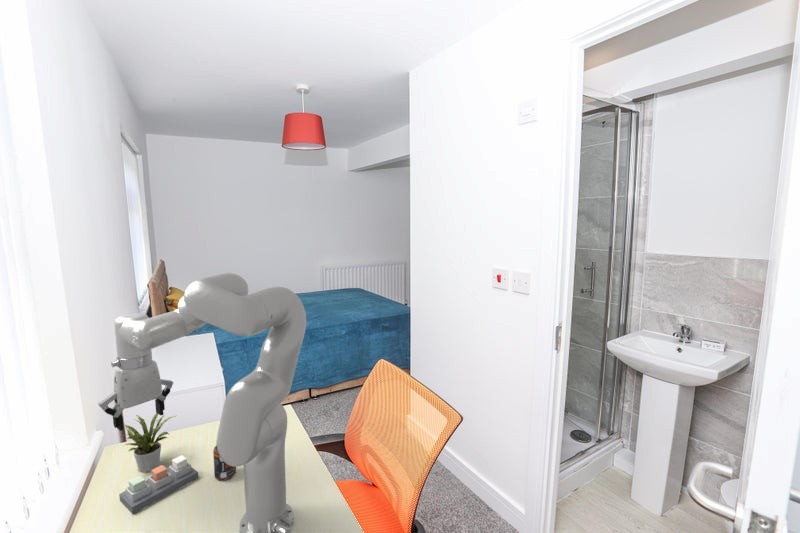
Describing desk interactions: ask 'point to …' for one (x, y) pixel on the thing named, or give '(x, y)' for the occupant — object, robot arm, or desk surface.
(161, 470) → the button
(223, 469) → the supplement bottle
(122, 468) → the desk surface
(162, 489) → the panel
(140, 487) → the button
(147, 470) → the house plant
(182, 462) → the button
